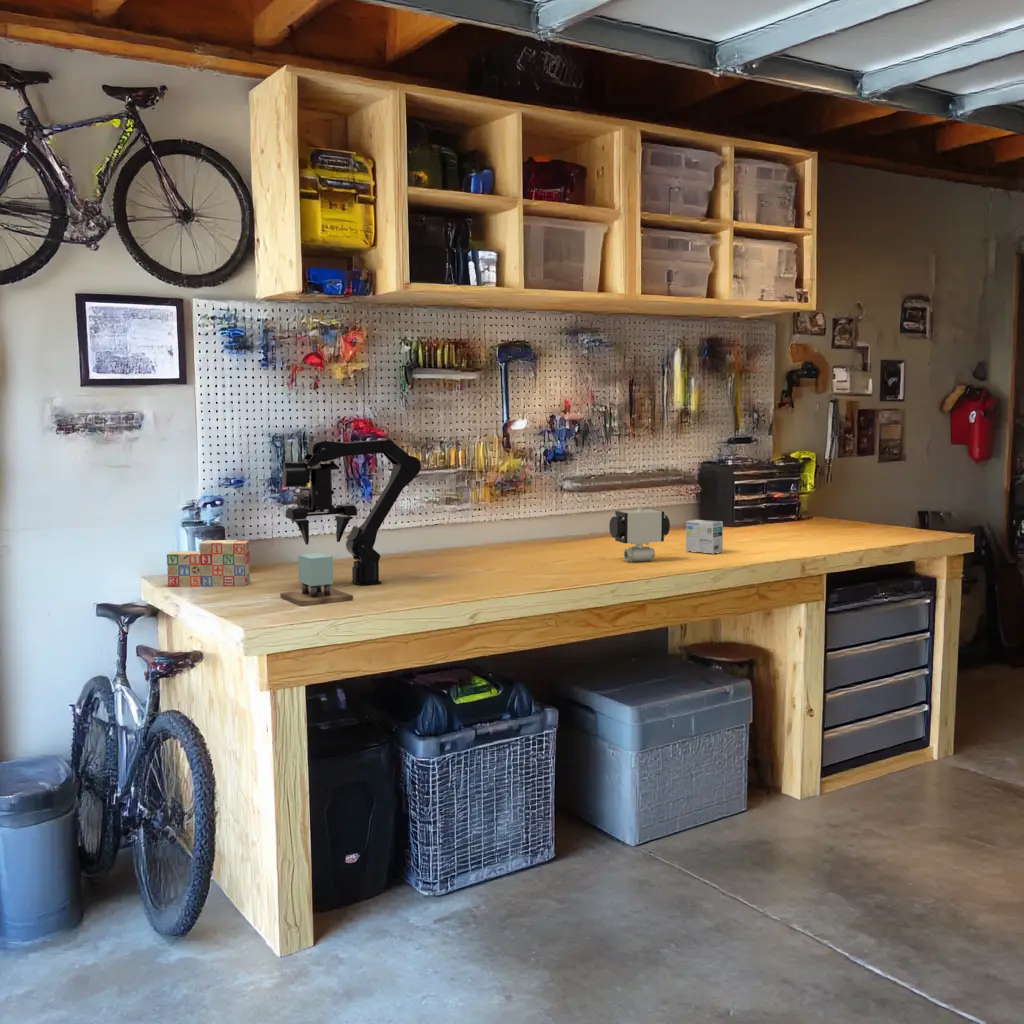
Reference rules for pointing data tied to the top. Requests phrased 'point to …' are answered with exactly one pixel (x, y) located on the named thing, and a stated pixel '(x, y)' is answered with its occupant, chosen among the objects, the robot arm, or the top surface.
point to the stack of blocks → (210, 565)
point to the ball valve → (639, 531)
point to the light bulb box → (704, 536)
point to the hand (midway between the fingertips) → (322, 543)
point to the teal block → (315, 569)
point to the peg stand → (316, 595)
